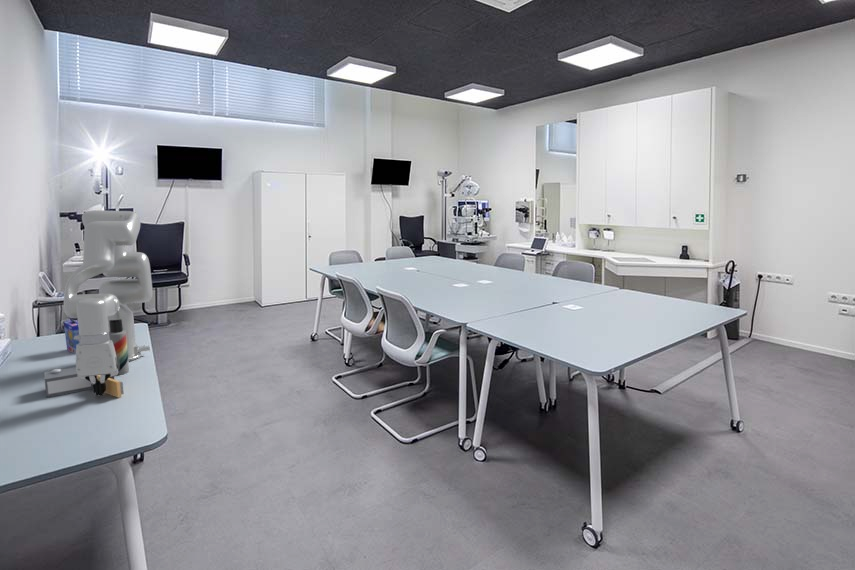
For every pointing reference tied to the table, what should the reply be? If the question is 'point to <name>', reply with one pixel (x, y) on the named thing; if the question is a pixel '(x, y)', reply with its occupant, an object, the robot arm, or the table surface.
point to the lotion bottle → (119, 345)
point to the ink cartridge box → (71, 334)
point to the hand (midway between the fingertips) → (100, 394)
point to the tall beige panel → (113, 387)
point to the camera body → (65, 382)
